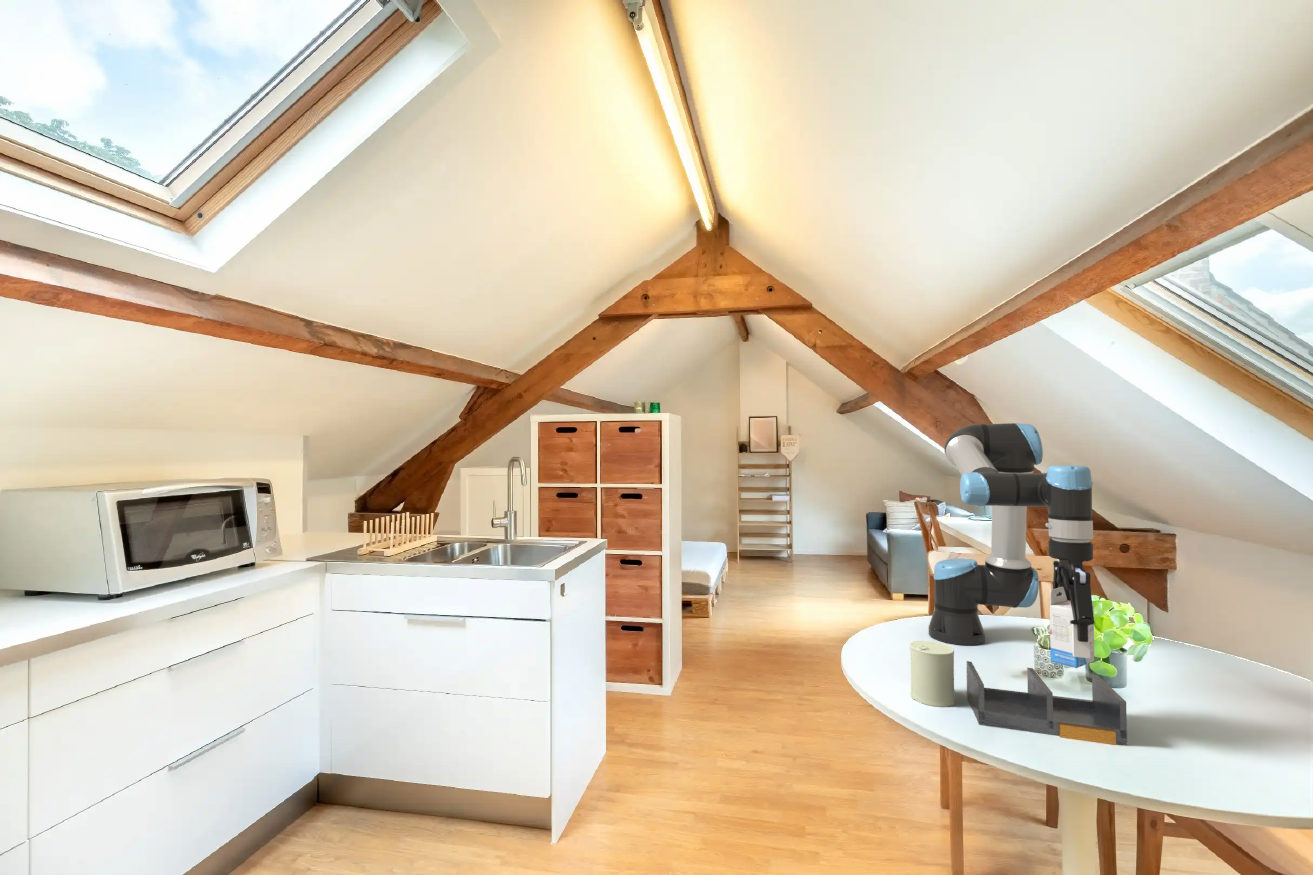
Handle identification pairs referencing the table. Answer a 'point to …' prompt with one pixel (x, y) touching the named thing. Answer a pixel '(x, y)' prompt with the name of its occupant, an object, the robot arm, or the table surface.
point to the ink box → (1065, 631)
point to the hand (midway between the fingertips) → (1072, 648)
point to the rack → (1050, 710)
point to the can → (932, 673)
